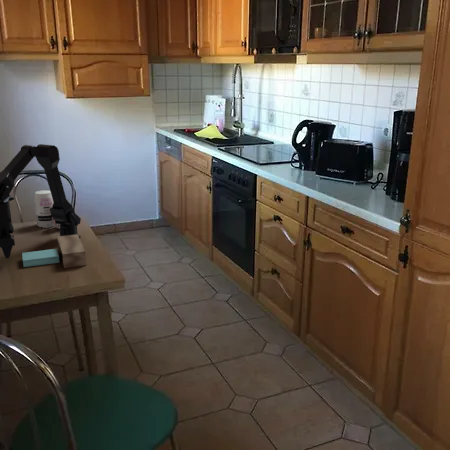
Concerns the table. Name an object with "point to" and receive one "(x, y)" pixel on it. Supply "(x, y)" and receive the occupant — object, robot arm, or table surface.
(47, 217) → the supplement can
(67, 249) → the block
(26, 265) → the teal rectangular block
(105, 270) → the table surface
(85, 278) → the table surface
